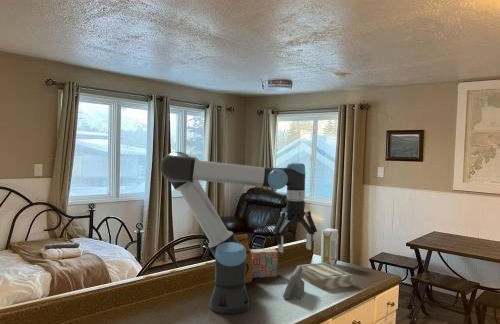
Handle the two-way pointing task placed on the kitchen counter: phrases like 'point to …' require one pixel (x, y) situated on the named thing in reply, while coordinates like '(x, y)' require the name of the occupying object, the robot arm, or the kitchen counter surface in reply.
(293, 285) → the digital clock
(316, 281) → the birch plinth
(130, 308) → the kitchen counter surface
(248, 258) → the coffee package
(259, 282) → the kitchen counter surface
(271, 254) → the stack of blocks
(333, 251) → the juice carton
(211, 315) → the kitchen counter surface
